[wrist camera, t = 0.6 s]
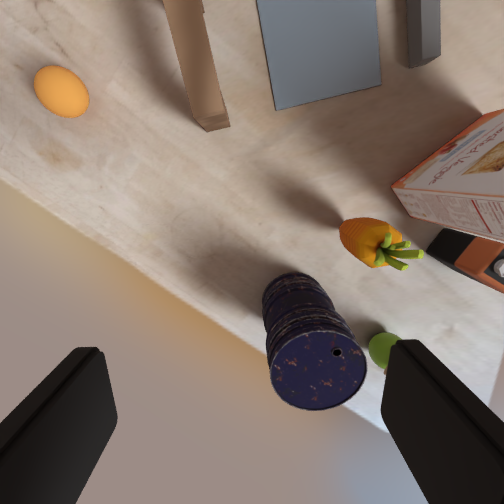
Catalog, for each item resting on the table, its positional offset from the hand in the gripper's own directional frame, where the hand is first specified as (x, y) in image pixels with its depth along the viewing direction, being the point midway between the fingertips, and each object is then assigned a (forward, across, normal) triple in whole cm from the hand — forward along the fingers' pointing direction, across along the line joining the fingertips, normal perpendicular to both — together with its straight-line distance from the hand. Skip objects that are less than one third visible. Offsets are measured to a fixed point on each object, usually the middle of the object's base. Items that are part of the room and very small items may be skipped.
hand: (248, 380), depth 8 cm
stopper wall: (+29, -20, -24) cm, 42 cm away
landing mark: (+29, -9, -22) cm, 37 cm away
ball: (+26, +21, -16) cm, 37 cm away
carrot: (+29, -14, +1) cm, 32 cm away
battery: (+29, -30, +5) cm, 42 cm away
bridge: (+29, +5, -19) cm, 35 cm away
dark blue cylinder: (+29, -7, +12) cm, 32 cm away
